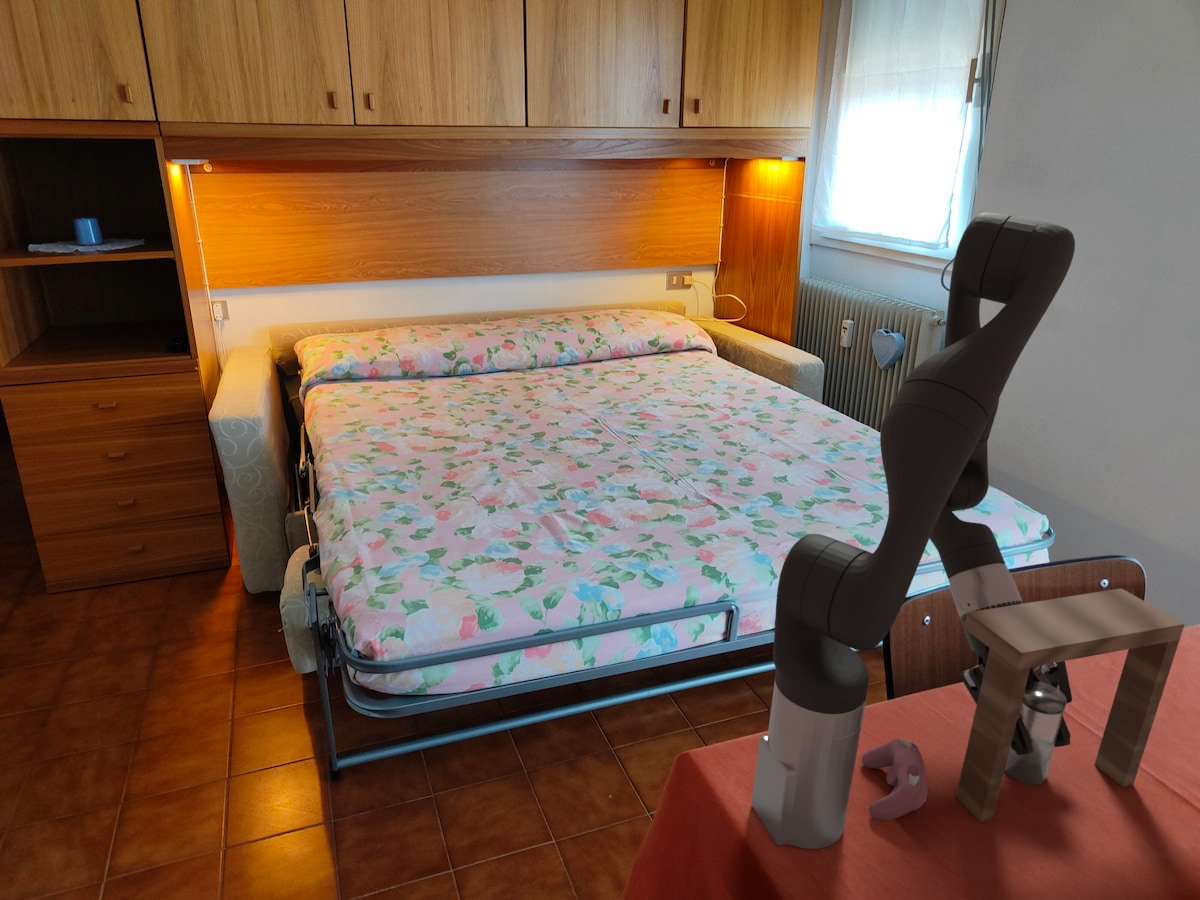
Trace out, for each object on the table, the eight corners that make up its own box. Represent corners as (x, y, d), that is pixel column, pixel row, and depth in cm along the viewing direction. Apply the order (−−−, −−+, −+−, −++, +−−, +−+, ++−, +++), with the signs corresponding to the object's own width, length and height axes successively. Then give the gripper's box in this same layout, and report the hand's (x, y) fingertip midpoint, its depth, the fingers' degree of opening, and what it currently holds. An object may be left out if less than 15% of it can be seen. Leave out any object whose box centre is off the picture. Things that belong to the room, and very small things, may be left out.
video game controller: (901, 838, 90) (941, 798, 88) (865, 817, 90) (904, 776, 88) (889, 775, 100) (925, 737, 97) (857, 756, 100) (892, 718, 97)
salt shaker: (1022, 788, 96) (1042, 710, 92) (992, 760, 100) (1010, 684, 97) (1055, 780, 97) (1076, 703, 94) (1024, 753, 102) (1043, 678, 98)
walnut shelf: (980, 822, 91) (1021, 652, 83) (933, 772, 98) (967, 612, 90) (1133, 784, 97) (1184, 623, 90) (1078, 740, 104) (1121, 588, 97)
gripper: (960, 606, 97) (1016, 758, 90) (1057, 591, 101) (1117, 735, 94) (924, 622, 103) (973, 764, 97) (1016, 607, 108) (1069, 742, 101)
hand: (1044, 749), depth 96 cm, fingers closed on salt shaker, 4 cm apart
